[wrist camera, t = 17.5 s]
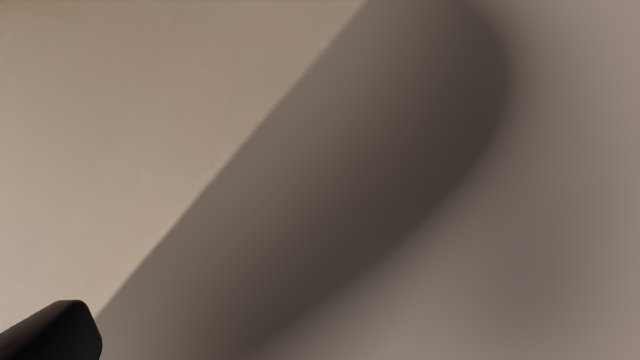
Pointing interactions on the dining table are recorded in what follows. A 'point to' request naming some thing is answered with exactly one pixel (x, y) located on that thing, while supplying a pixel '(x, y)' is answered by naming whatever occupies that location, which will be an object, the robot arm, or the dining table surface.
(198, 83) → the dining table surface
